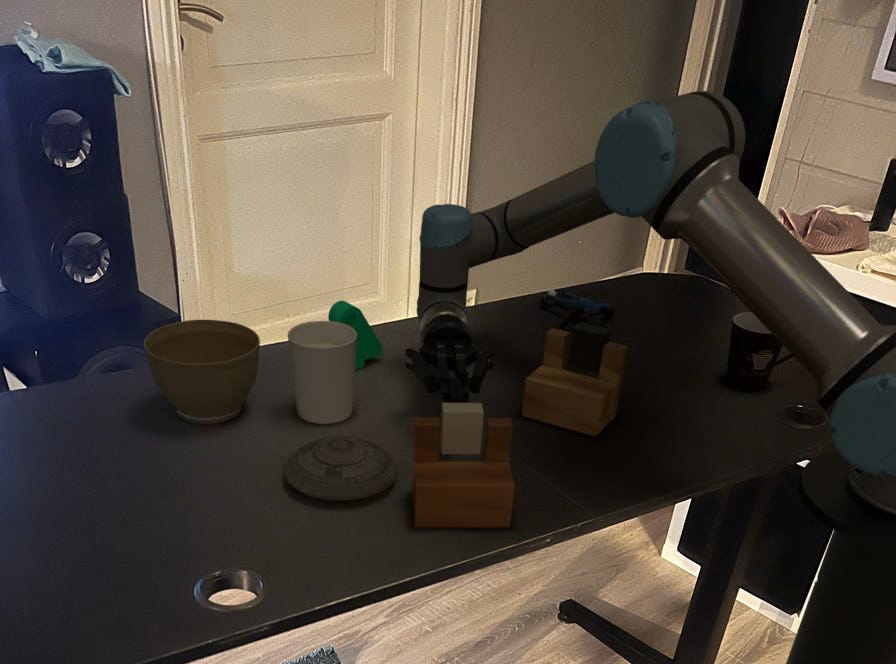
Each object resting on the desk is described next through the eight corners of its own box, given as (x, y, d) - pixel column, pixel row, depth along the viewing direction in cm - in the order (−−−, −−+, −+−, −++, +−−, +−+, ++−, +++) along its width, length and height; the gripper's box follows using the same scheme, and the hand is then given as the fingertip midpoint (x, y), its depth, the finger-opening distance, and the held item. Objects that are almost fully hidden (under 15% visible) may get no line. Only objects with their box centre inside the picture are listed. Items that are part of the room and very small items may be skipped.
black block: (574, 359, 147) (580, 321, 144) (605, 366, 145) (611, 329, 142) (567, 365, 146) (572, 327, 142) (598, 373, 144) (604, 335, 140)
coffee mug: (714, 388, 155) (729, 327, 149) (722, 368, 161) (736, 308, 155) (789, 402, 152) (807, 340, 146) (794, 381, 158) (812, 321, 152)
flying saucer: (359, 521, 122) (358, 483, 118) (262, 488, 127) (258, 451, 124) (417, 471, 132) (418, 434, 129) (325, 442, 137) (324, 407, 134)
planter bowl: (234, 444, 136) (226, 371, 129) (133, 424, 140) (121, 352, 133) (282, 397, 148) (278, 328, 141) (188, 380, 152) (179, 312, 145)
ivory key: (440, 444, 125) (442, 402, 122) (478, 444, 125) (481, 402, 122) (441, 454, 123) (443, 412, 119) (480, 454, 123) (483, 412, 120)
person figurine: (525, 318, 180) (587, 338, 167) (525, 293, 178) (588, 312, 165) (571, 308, 185) (635, 327, 172) (572, 283, 182) (637, 300, 169)
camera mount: (355, 346, 164) (355, 285, 158) (382, 361, 159) (382, 299, 153) (295, 362, 158) (292, 299, 152) (321, 379, 154) (318, 315, 147)
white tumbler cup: (332, 433, 140) (330, 353, 132) (278, 415, 144) (273, 336, 136) (370, 408, 146) (370, 330, 139) (318, 391, 150) (315, 315, 143)
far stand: (543, 396, 151) (551, 327, 144) (615, 416, 147) (628, 346, 140) (521, 416, 146) (528, 345, 139) (595, 436, 141) (607, 365, 134)
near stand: (412, 494, 127) (414, 417, 120) (503, 494, 128) (510, 418, 121) (415, 527, 121) (417, 448, 114) (510, 527, 122) (518, 449, 115)
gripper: (487, 362, 148) (504, 435, 130) (402, 361, 148) (407, 434, 129) (490, 313, 143) (509, 382, 125) (403, 312, 143) (408, 381, 125)
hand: (457, 408), depth 127 cm, fingers closed
